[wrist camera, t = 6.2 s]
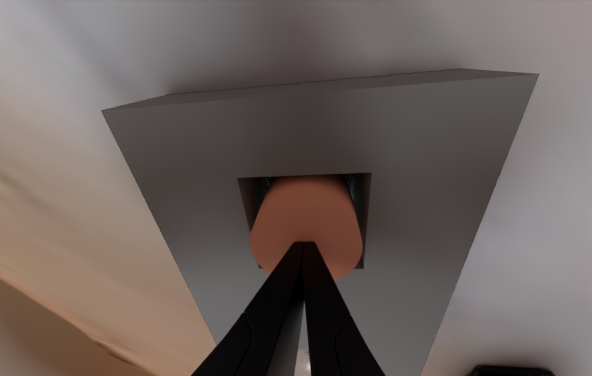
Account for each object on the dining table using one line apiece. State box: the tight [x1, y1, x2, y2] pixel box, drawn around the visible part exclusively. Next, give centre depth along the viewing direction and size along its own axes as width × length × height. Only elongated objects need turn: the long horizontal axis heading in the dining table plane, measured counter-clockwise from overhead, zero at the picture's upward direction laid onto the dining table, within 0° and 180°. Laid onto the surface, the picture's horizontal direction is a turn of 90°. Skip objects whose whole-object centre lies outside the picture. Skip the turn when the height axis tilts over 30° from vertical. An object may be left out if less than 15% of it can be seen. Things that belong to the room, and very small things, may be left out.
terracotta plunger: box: [250, 174, 363, 281], centre depth 11 cm, size 4×4×4 cm
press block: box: [101, 69, 539, 376], centre depth 15 cm, size 14×24×4 cm, turn 5°
